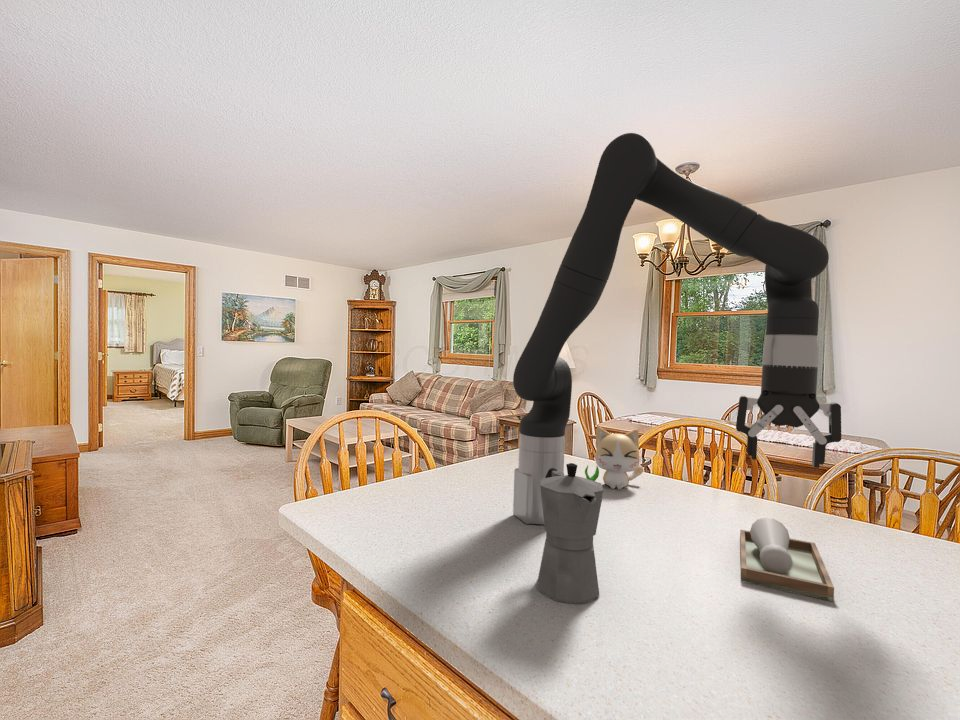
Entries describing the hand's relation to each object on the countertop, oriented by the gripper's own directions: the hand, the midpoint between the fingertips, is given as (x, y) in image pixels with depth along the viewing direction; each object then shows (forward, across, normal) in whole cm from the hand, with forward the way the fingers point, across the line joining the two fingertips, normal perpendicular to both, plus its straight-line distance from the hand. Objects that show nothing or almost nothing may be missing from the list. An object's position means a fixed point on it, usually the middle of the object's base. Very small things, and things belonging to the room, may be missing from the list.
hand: (783, 462), depth 77 cm
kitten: (+18, -34, +32) cm, 50 cm away
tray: (+17, 0, 0) cm, 17 cm away
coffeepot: (+17, -28, -25) cm, 41 cm away
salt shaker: (+13, -1, +7) cm, 15 cm away
